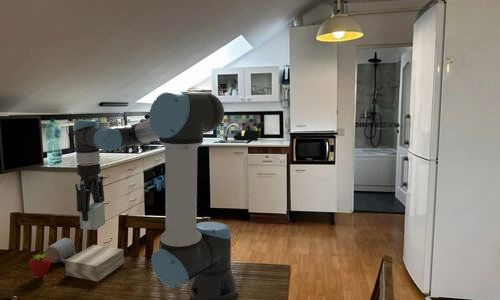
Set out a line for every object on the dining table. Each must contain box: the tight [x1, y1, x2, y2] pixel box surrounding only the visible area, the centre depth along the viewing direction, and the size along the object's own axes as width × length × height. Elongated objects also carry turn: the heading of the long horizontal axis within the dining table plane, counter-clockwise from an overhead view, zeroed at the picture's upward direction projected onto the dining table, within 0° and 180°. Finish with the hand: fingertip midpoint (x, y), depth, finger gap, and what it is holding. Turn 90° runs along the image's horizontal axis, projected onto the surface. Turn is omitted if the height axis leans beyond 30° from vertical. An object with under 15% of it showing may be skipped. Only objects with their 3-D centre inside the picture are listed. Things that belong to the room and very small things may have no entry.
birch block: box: [64, 244, 125, 282], centre depth 127 cm, size 14×14×6 cm
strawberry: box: [28, 251, 52, 279], centre depth 120 cm, size 6×8×10 cm
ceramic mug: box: [44, 237, 77, 264], centre depth 133 cm, size 11×8×8 cm
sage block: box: [78, 202, 106, 231], centre depth 124 cm, size 6×6×8 cm
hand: (92, 225), depth 125 cm, fingers closed on sage block, 6 cm apart
